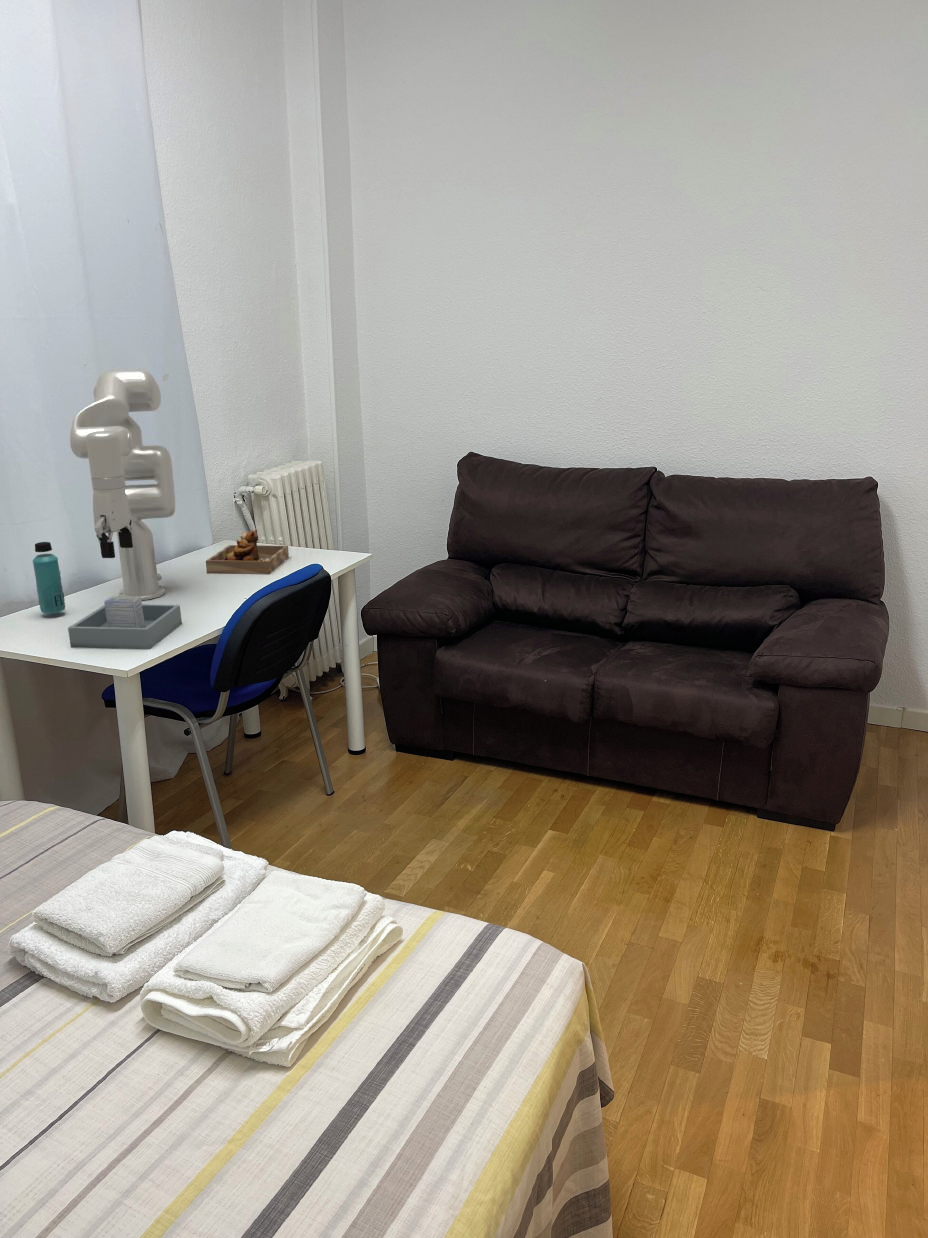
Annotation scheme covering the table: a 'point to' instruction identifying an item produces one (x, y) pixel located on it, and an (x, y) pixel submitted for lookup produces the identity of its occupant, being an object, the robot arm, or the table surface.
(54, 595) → the beverage bottle
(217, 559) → the wooden tray
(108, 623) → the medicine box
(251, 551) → the bear figurine
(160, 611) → the bin
